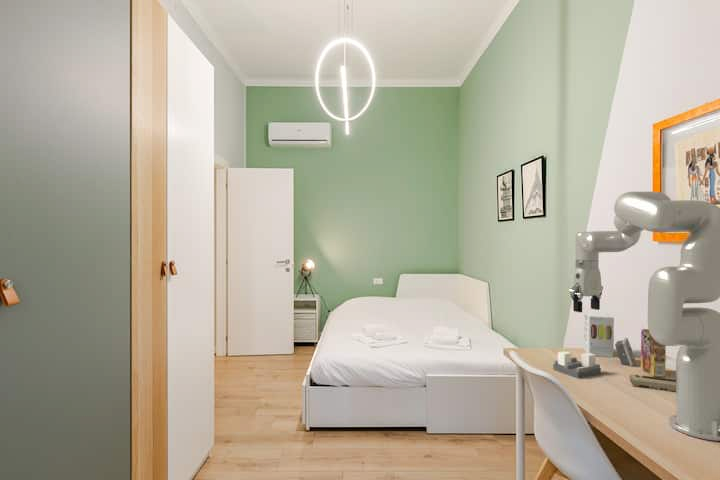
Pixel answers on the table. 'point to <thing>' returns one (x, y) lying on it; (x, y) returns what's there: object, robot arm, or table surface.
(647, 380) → the computer
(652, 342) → the candy box
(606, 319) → the supplement box
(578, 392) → the table surface
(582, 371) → the switch bank
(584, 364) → the white block
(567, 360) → the tab
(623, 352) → the electrical switch
